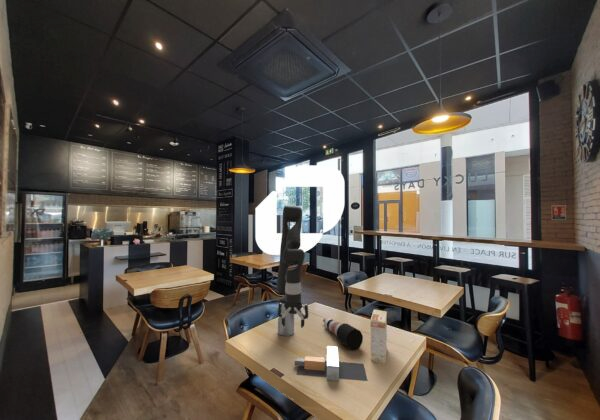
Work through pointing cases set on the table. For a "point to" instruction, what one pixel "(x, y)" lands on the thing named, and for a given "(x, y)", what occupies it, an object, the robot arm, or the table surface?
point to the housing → (332, 363)
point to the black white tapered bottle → (345, 333)
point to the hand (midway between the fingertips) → (293, 326)
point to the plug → (311, 363)
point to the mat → (345, 371)
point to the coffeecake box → (379, 336)
